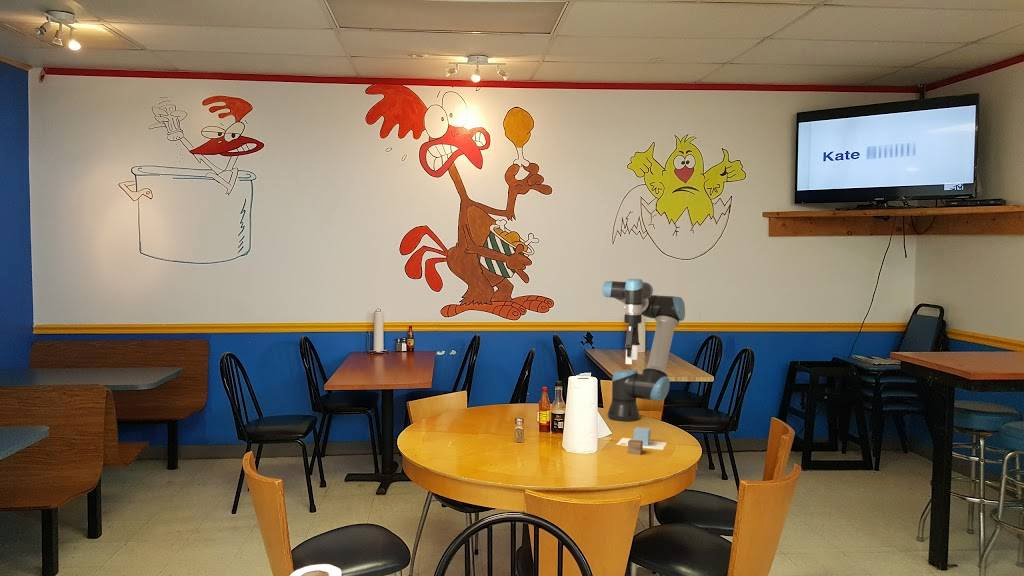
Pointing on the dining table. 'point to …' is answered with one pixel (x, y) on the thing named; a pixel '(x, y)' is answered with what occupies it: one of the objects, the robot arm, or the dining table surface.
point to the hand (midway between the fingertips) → (631, 361)
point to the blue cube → (642, 435)
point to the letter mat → (652, 446)
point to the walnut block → (635, 446)
